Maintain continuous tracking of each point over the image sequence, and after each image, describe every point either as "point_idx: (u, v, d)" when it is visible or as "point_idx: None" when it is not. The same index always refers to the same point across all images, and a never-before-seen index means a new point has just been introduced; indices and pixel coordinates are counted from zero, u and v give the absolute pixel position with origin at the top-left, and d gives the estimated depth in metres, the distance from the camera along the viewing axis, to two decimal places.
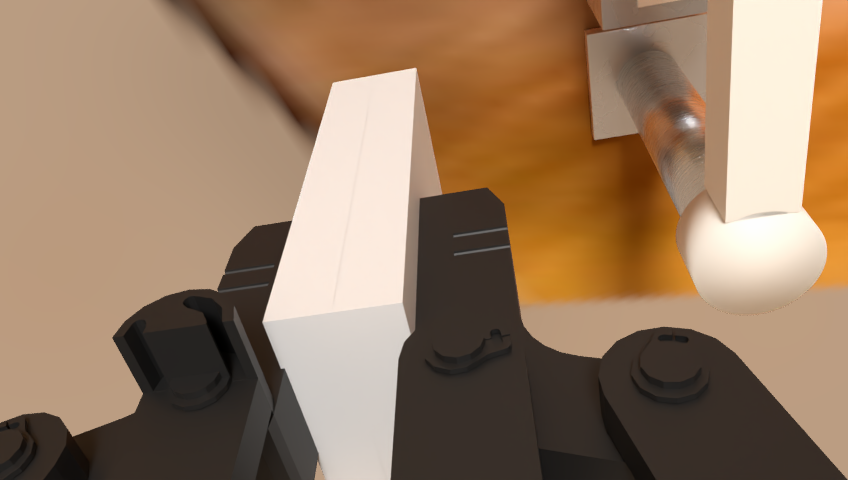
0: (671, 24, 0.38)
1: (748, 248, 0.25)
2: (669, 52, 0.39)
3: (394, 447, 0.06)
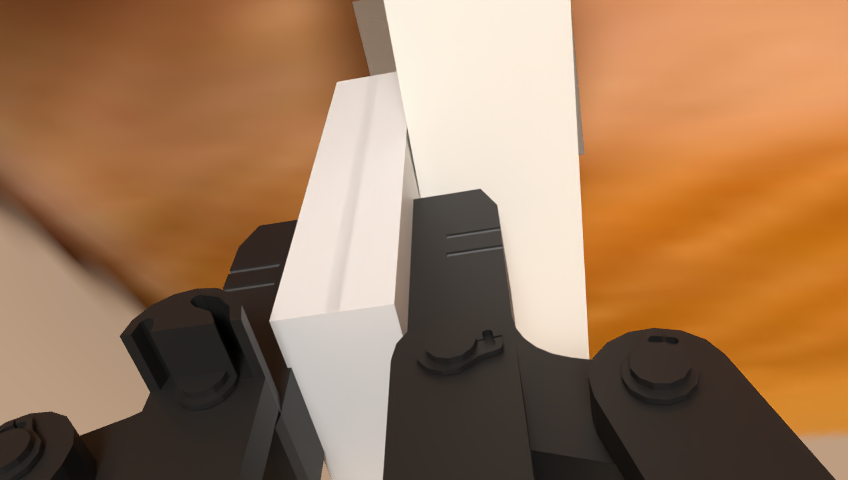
0: None
1: None
2: None
3: (386, 448, 0.06)
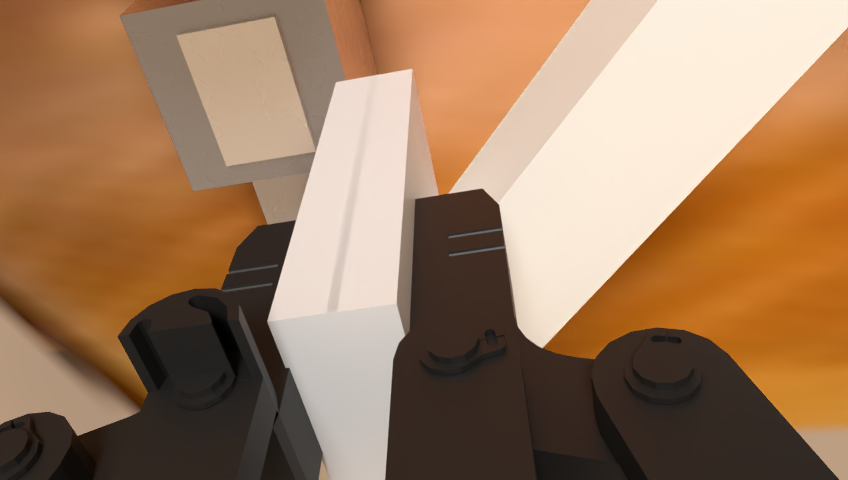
0: None
1: None
2: None
3: (389, 448, 0.06)
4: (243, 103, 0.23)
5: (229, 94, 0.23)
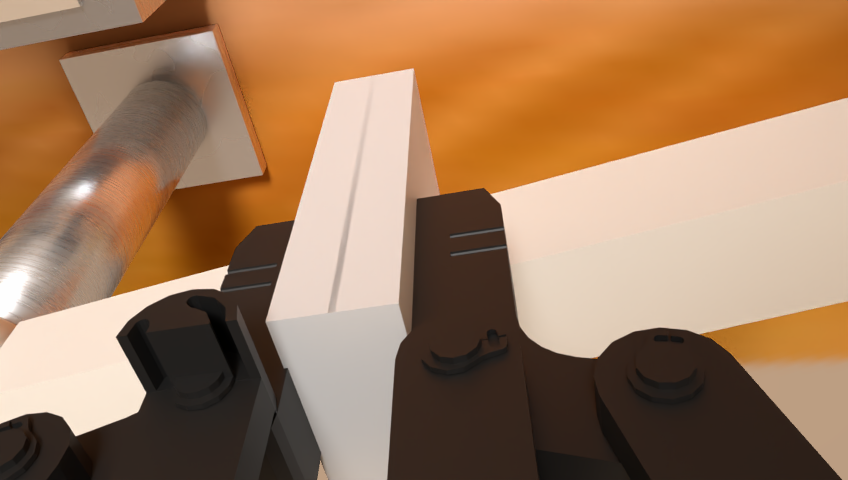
0: (168, 45, 0.28)
1: None
2: (180, 83, 0.28)
3: (391, 447, 0.06)
4: None
5: None
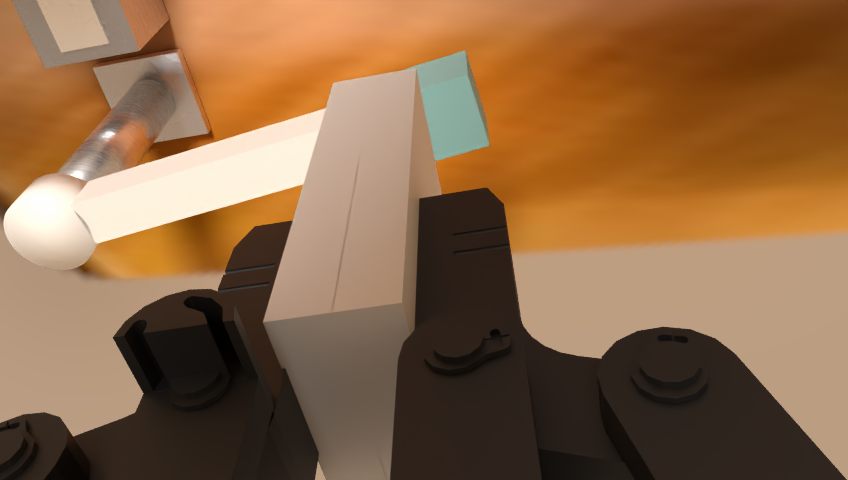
0: (153, 60, 0.50)
1: (57, 224, 0.38)
2: (160, 80, 0.51)
3: (394, 447, 0.06)
4: (65, 15, 0.43)
5: (57, 10, 0.43)
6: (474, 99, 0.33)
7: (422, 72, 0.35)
